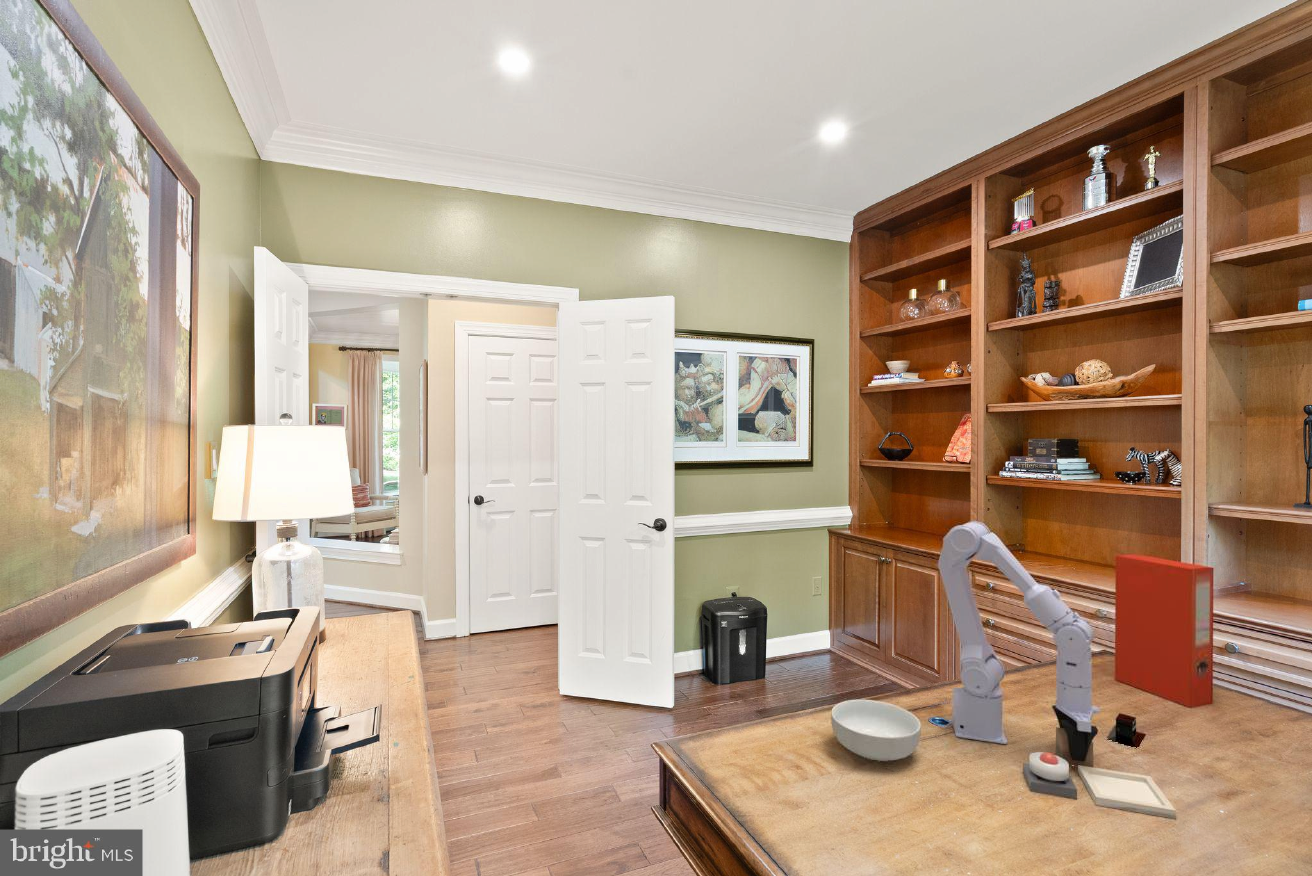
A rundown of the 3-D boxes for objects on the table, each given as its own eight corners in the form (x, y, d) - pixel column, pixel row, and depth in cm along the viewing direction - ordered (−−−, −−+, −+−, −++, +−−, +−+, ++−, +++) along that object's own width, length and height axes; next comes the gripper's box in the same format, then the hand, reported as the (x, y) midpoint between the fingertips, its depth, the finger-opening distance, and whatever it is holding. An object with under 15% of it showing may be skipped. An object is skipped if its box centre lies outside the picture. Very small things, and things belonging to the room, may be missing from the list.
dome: (1033, 786, 111) (1033, 758, 111) (1026, 769, 116) (1026, 742, 116) (1072, 793, 109) (1072, 764, 109) (1064, 775, 114) (1064, 748, 114)
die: (1062, 764, 120) (1062, 737, 120) (1055, 752, 124) (1055, 726, 124) (1093, 769, 118) (1093, 742, 118) (1085, 756, 122) (1085, 730, 122)
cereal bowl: (869, 781, 114) (869, 742, 114) (814, 740, 129) (814, 706, 129) (940, 763, 120) (940, 726, 120) (880, 726, 135) (879, 693, 135)
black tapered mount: (1141, 756, 124) (1141, 733, 124) (1097, 743, 129) (1097, 721, 129) (1152, 735, 132) (1152, 713, 132) (1110, 723, 137) (1110, 703, 137)
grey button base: (1030, 790, 110) (1030, 781, 110) (1022, 770, 117) (1022, 762, 117) (1077, 798, 108) (1077, 789, 108) (1066, 778, 115) (1066, 769, 115)
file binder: (1137, 676, 163) (1137, 553, 163) (1213, 703, 147) (1213, 566, 147) (1114, 680, 161) (1114, 555, 161) (1189, 707, 144) (1189, 569, 144)
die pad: (1096, 804, 106) (1096, 796, 106) (1078, 772, 116) (1078, 764, 116) (1175, 818, 102) (1175, 810, 102) (1150, 784, 113) (1150, 776, 113)
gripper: (1110, 700, 113) (1111, 775, 113) (1087, 671, 126) (1087, 739, 126) (1065, 694, 115) (1065, 768, 115) (1047, 667, 129) (1047, 733, 129)
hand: (1074, 752), depth 121 cm, fingers closed on die, 5 cm apart
